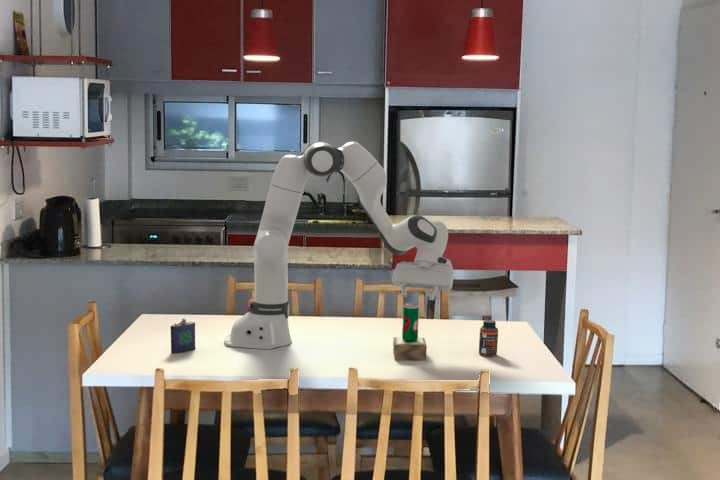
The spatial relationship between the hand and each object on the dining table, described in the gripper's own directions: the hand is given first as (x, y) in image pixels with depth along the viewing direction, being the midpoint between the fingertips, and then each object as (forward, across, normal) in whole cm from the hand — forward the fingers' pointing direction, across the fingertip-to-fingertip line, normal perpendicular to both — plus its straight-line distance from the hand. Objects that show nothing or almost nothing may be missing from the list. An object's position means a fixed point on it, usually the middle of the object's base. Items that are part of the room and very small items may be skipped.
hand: (417, 297), depth 303 cm
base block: (+17, 0, +9) cm, 19 cm away
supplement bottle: (+7, +22, +19) cm, 30 cm away
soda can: (+13, 0, +5) cm, 14 cm away
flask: (+36, -68, -10) cm, 78 cm away
